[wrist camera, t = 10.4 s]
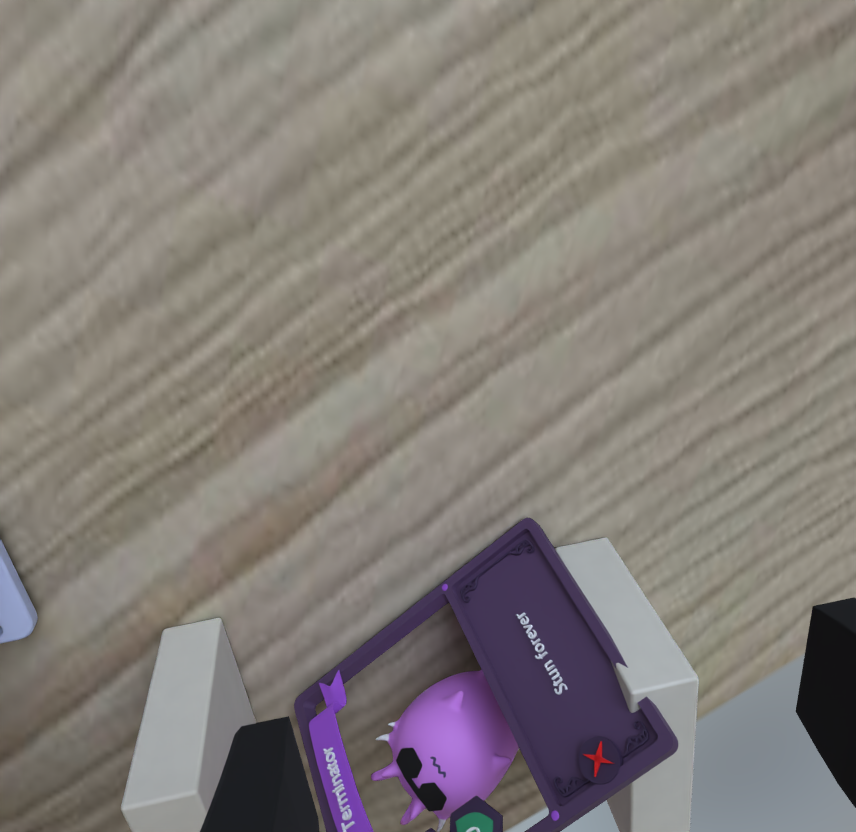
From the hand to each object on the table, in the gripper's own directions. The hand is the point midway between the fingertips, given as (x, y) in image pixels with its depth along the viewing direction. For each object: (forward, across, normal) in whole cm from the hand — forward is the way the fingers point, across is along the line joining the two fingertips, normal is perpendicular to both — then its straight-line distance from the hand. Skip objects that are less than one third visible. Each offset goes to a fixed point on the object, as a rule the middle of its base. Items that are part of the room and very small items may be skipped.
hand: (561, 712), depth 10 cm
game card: (+10, 0, +8) cm, 12 cm away
